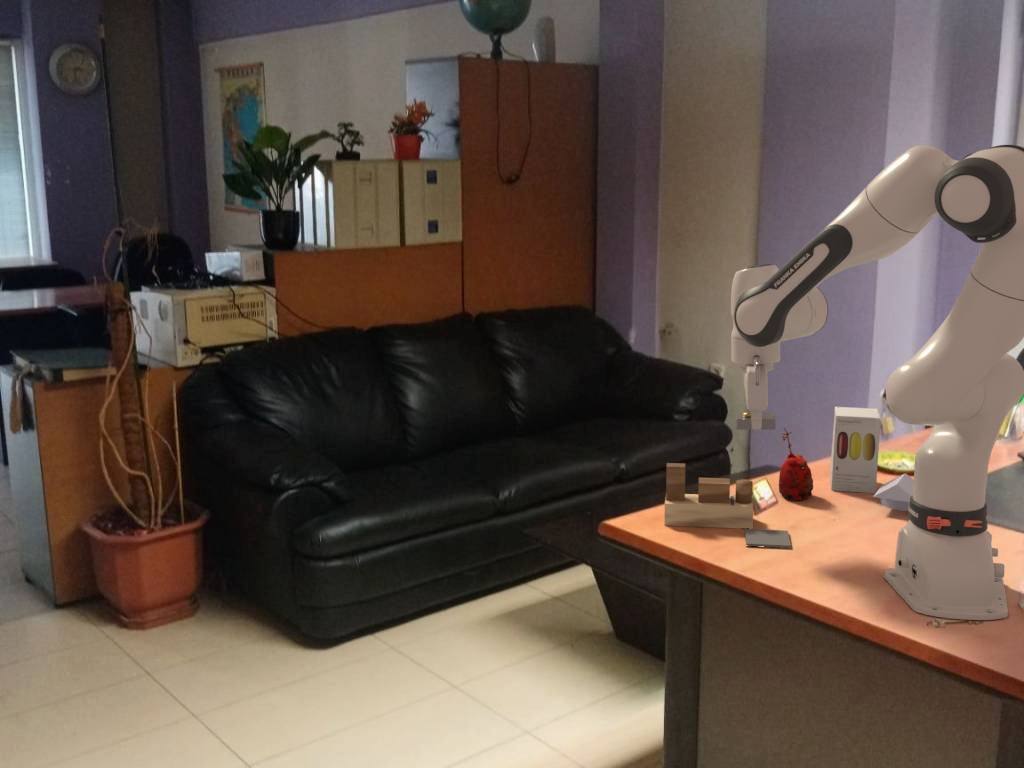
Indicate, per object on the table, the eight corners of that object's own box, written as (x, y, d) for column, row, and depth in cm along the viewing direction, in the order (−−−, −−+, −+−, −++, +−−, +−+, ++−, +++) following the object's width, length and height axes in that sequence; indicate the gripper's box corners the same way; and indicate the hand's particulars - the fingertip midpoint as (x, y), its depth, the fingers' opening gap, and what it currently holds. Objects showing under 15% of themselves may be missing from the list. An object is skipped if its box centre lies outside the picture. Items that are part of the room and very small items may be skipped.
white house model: (918, 519, 202) (930, 501, 213) (921, 487, 201) (932, 470, 212) (871, 512, 207) (885, 494, 218) (873, 481, 206) (887, 464, 216)
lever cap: (775, 429, 189) (775, 415, 188) (736, 429, 190) (736, 415, 190) (774, 423, 194) (774, 410, 193) (736, 423, 195) (736, 410, 195)
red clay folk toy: (806, 504, 213) (808, 434, 210) (772, 499, 216) (774, 430, 213) (816, 494, 219) (818, 426, 216) (783, 489, 223) (786, 422, 220)
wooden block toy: (752, 528, 199) (754, 472, 197) (664, 525, 202) (664, 469, 200) (751, 517, 205) (752, 462, 203) (665, 514, 209) (666, 460, 206)
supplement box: (830, 491, 221) (833, 415, 217) (829, 478, 230) (832, 405, 226) (877, 493, 218) (881, 417, 215) (874, 481, 227) (878, 407, 224)
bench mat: (790, 548, 189) (790, 545, 188) (746, 546, 190) (746, 543, 190) (787, 533, 196) (787, 530, 196) (745, 531, 198) (745, 528, 198)
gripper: (775, 360, 179) (775, 437, 181) (770, 344, 199) (770, 414, 201) (738, 361, 180) (739, 437, 182) (737, 344, 200) (738, 414, 202)
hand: (755, 425), depth 192 cm, fingers closed on lever cap, 5 cm apart
